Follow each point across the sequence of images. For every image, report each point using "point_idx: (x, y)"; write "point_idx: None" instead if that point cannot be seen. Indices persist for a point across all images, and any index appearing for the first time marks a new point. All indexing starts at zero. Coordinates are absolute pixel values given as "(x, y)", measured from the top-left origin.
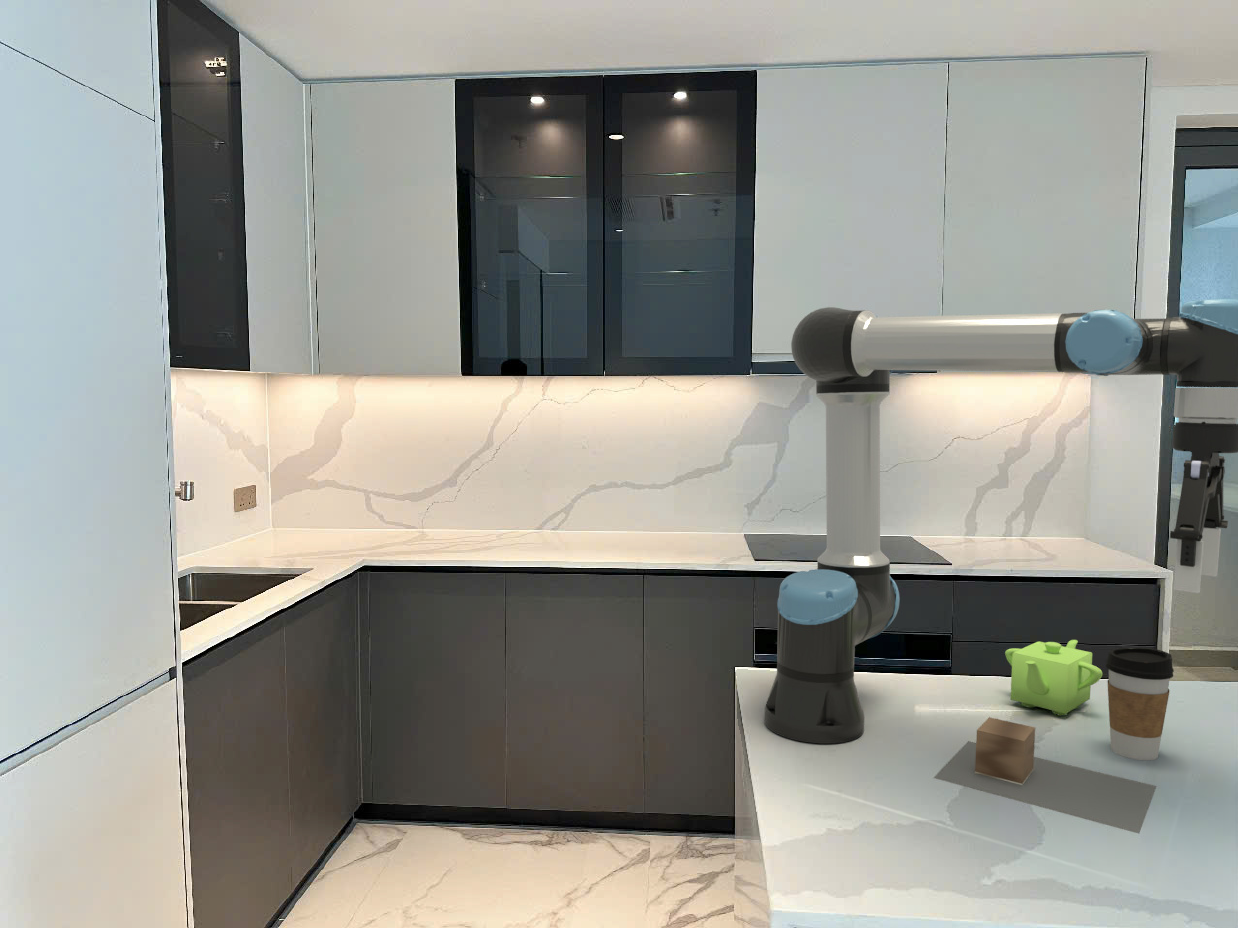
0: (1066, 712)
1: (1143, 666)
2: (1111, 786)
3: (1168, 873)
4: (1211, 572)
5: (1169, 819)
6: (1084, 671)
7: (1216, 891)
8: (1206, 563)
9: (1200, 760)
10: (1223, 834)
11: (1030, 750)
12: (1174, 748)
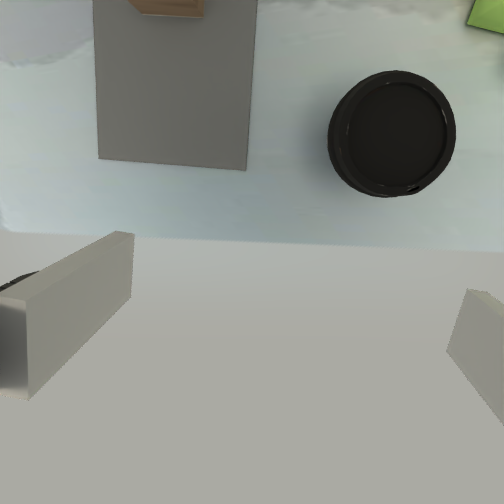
0: (471, 24)
1: (337, 146)
2: (211, 121)
3: (38, 186)
4: (455, 344)
5: (163, 185)
6: None
7: (34, 224)
8: (474, 345)
9: (376, 217)
10: (160, 233)
11: (171, 4)
12: None
